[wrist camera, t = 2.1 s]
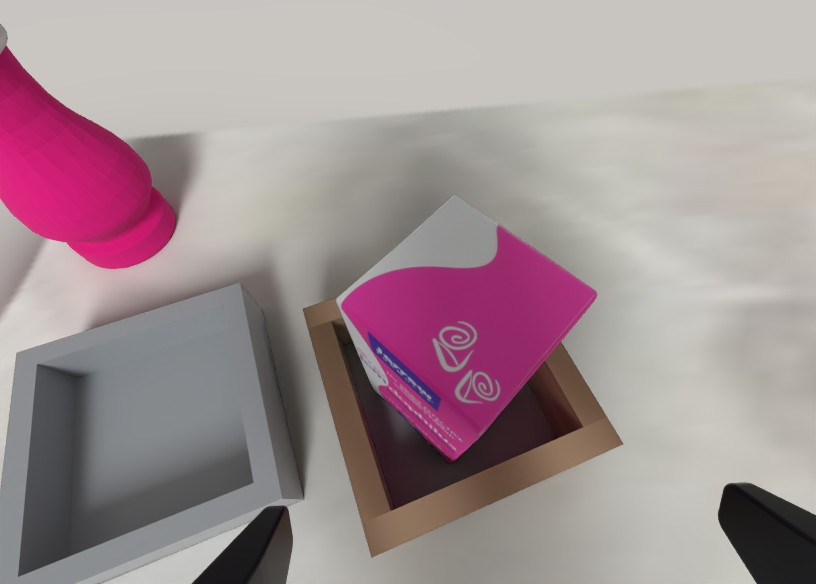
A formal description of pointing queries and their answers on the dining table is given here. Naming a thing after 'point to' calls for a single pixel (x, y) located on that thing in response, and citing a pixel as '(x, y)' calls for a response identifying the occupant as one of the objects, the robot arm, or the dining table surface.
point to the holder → (387, 527)
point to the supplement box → (459, 322)
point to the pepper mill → (75, 176)
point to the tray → (142, 441)
